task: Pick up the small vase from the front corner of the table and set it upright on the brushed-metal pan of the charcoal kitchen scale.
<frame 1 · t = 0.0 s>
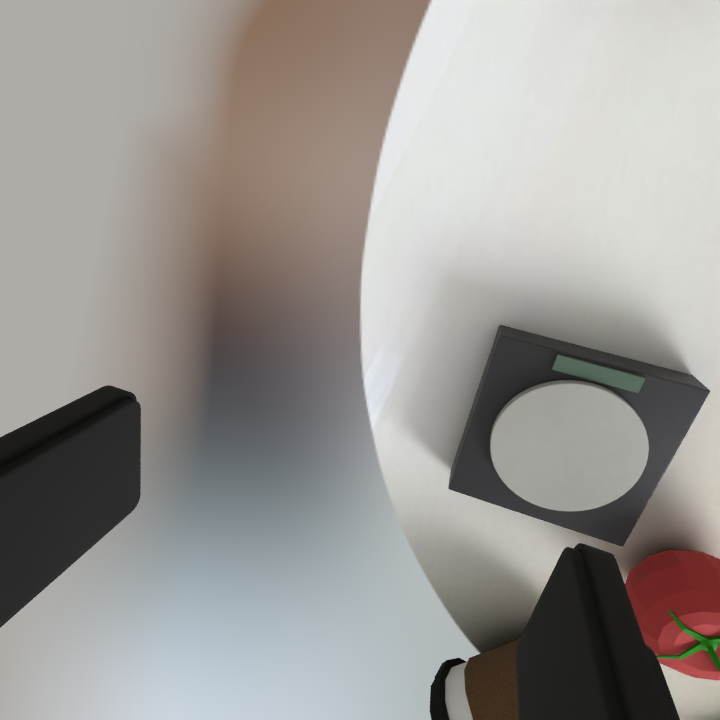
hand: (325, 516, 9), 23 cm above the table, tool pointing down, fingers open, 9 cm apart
scale: (558, 427, 31), on the table
coffee cup: (599, 668, 32), point 4 cm above the table
tomato: (672, 569, 33), on the table
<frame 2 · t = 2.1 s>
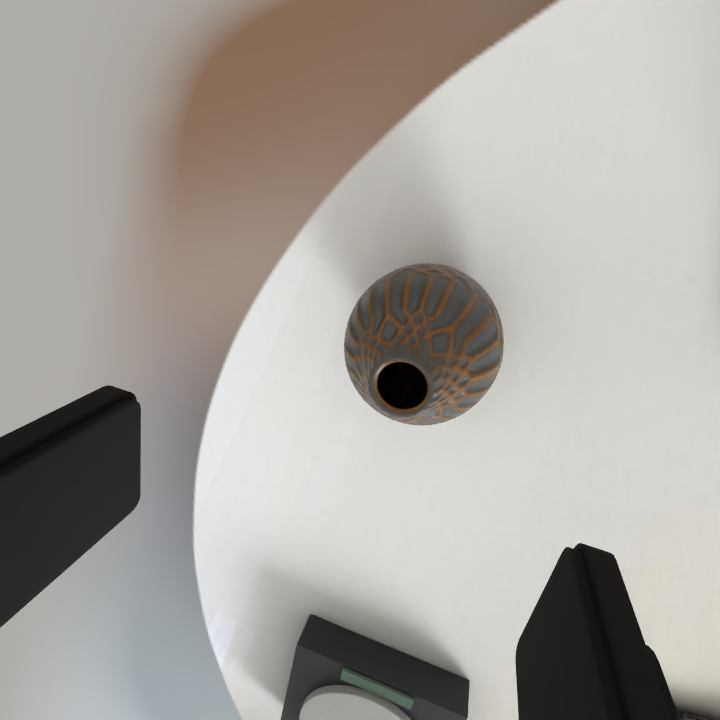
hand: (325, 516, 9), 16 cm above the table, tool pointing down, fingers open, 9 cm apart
scale: (370, 696, 35), on the table
vase: (433, 321, 24), on the table
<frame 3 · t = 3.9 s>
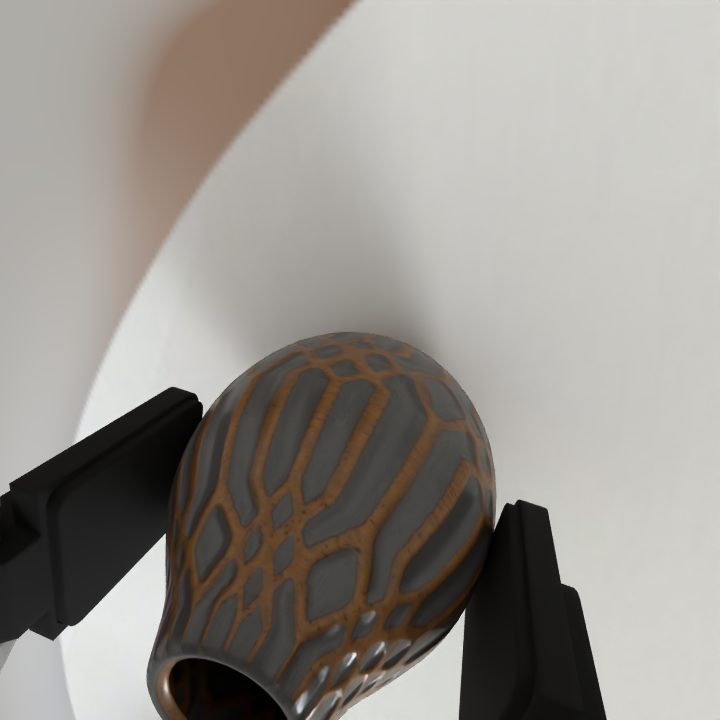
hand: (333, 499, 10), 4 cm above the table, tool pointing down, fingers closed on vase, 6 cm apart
vase: (378, 413, 14), on the table, touching gripper
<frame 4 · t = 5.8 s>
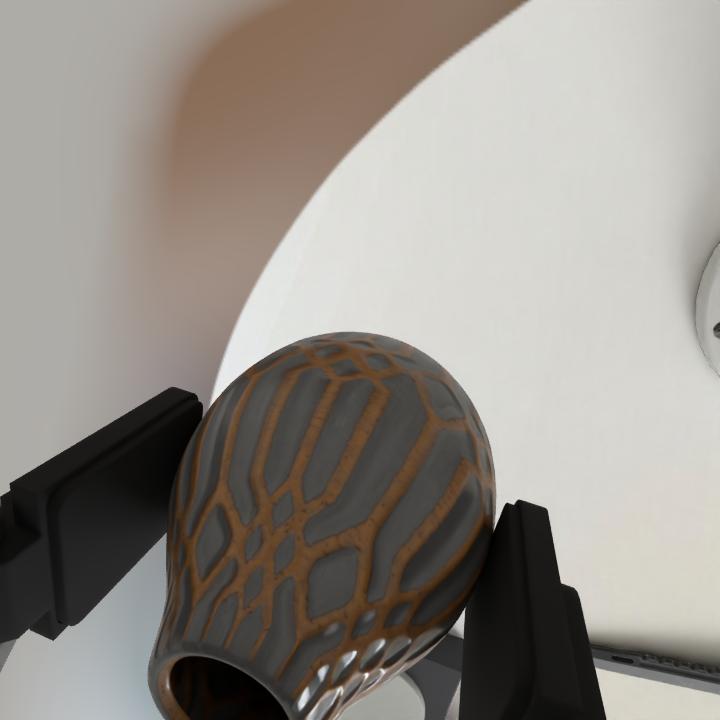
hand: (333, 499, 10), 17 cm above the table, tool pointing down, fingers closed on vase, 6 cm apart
scale: (372, 663, 36), on the table
knife: (717, 670, 29), on the table
vase: (379, 413, 14), point 13 cm above the table, touching gripper
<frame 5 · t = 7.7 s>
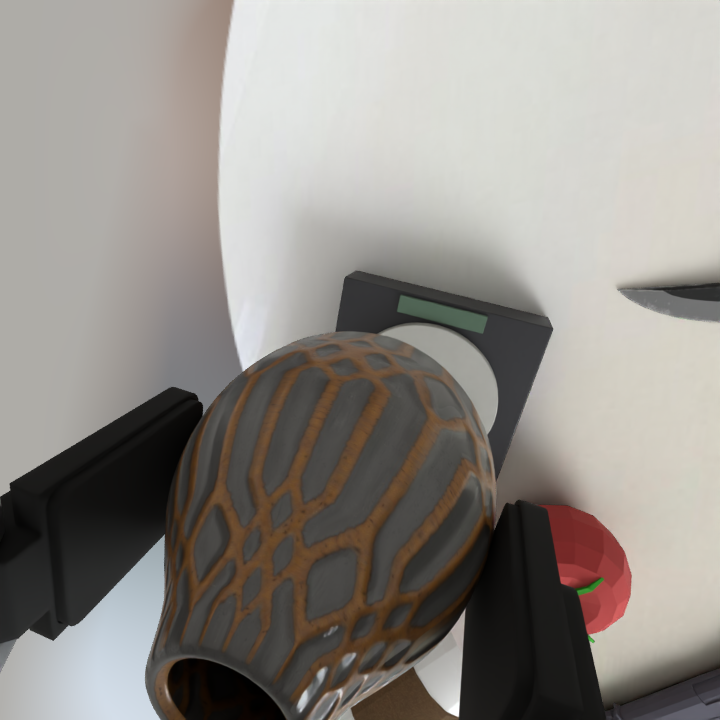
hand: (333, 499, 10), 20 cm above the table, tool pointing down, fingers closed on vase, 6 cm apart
scale: (425, 379, 30), on the table
vase: (378, 413, 14), point 16 cm above the table, touching gripper
coffee cup: (475, 631, 31), point 4 cm above the table
tomato: (551, 528, 31), on the table
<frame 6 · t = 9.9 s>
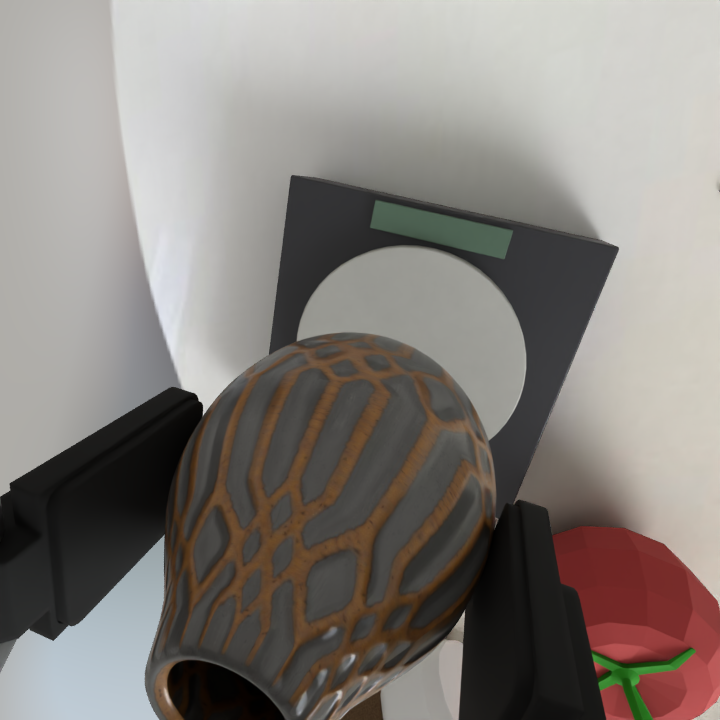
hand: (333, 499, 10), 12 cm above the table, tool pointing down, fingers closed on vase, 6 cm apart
scale: (415, 342, 21), on the table
vase: (378, 413, 14), point 7 cm above the table, touching gripper
coffee cup: (484, 702, 22), point 4 cm above the table
tomato: (591, 557, 22), on the table
when the fingers open (7 cm above the table, at t = 11.5 s): vase stays where it is, resting on scale.
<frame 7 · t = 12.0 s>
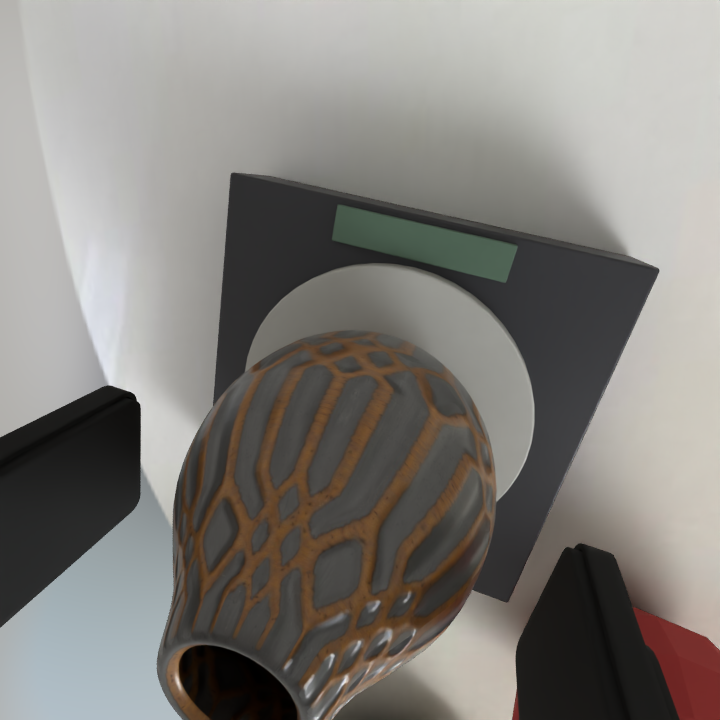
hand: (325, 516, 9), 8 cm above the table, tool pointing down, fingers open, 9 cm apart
scale: (395, 378, 17), on the table
vase: (379, 411, 14), point 3 cm above the table, touching scale
tomato: (611, 636, 18), on the table
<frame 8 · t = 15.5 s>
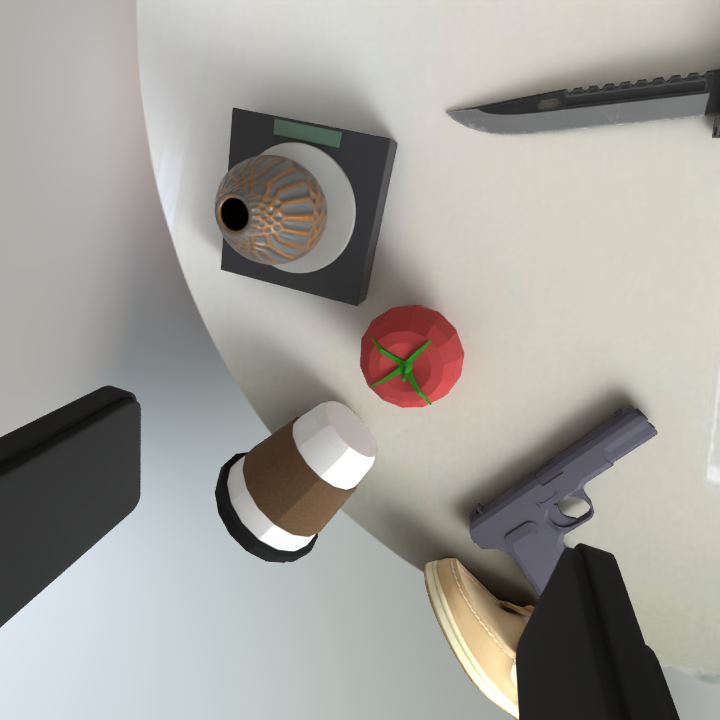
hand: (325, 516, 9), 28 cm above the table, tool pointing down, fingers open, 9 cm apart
scale: (309, 209, 36), on the table
knife: (644, 102, 28), on the table
handgun: (640, 566, 38), point 1 cm above the table
vase: (295, 210, 33), point 3 cm above the table, touching scale
coffee cup: (353, 426, 37), point 4 cm above the table
tomato: (417, 342, 38), on the table
boat shoe: (492, 679, 41), point 5 cm above the table
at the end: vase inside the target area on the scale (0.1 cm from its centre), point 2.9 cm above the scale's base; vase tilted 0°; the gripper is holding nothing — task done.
